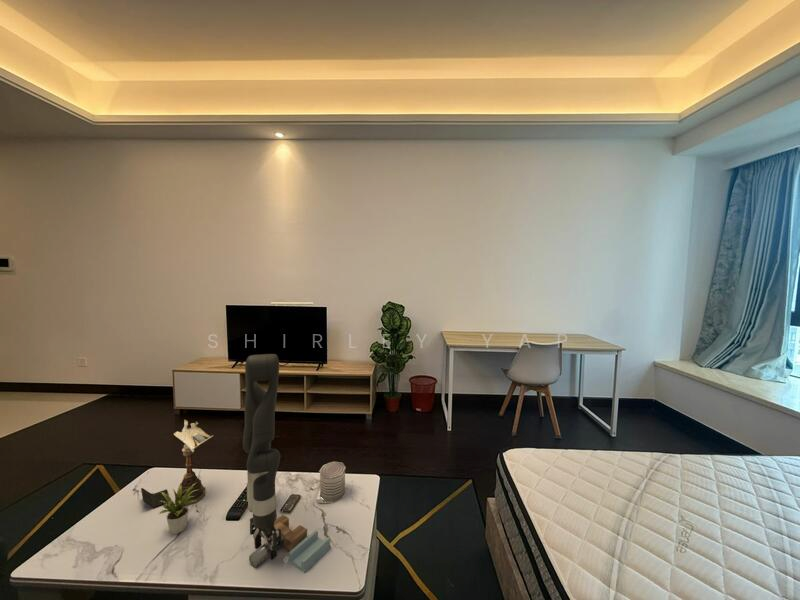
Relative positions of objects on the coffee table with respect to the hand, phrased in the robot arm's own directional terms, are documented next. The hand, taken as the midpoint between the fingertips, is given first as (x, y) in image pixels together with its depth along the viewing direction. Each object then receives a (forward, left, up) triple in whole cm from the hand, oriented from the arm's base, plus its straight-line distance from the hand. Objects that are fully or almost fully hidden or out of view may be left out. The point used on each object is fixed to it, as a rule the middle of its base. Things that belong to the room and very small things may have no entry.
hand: (265, 552), depth 113 cm
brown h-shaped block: (0, +9, -2) cm, 9 cm away
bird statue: (-53, +3, -2) cm, 53 cm away
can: (-4, +37, -2) cm, 37 cm away
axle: (0, +2, 0) cm, 2 cm away
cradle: (+12, +9, -2) cm, 15 cm away
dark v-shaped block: (-65, -8, -2) cm, 66 cm away
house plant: (-38, -10, -2) cm, 40 cm away
